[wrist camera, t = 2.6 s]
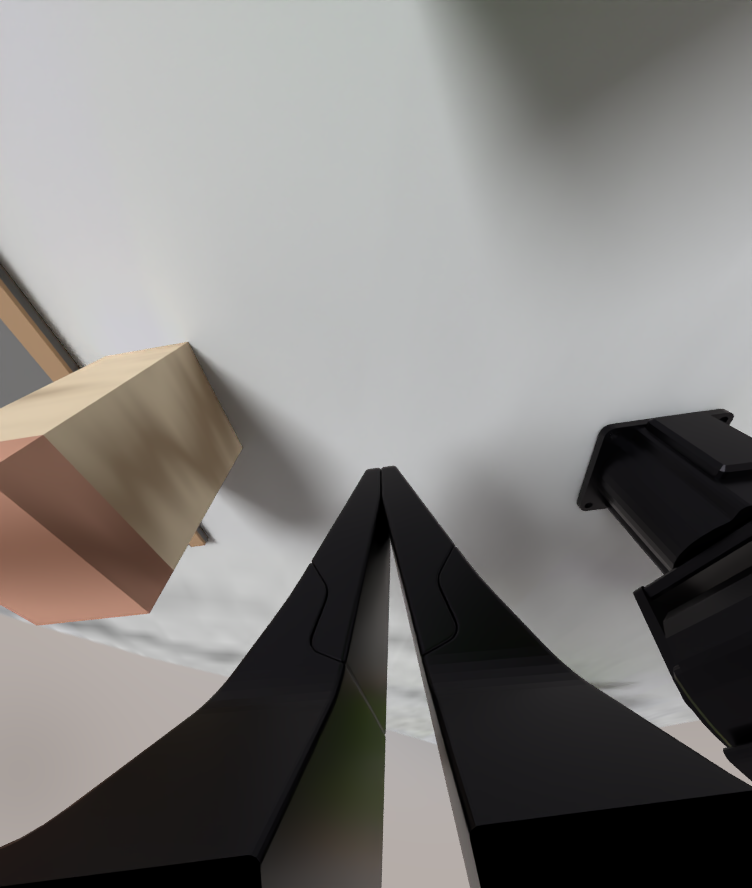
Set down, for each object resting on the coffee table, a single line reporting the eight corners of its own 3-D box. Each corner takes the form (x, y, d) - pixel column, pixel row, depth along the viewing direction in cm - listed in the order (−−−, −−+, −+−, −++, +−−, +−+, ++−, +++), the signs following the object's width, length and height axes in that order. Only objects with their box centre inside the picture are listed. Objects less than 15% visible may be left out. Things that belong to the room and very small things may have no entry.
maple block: (242, 448, 17) (149, 613, 10) (175, 457, 17) (36, 625, 10) (188, 341, 14) (-20, 474, 6) (105, 356, 14) (-185, 499, 7)
